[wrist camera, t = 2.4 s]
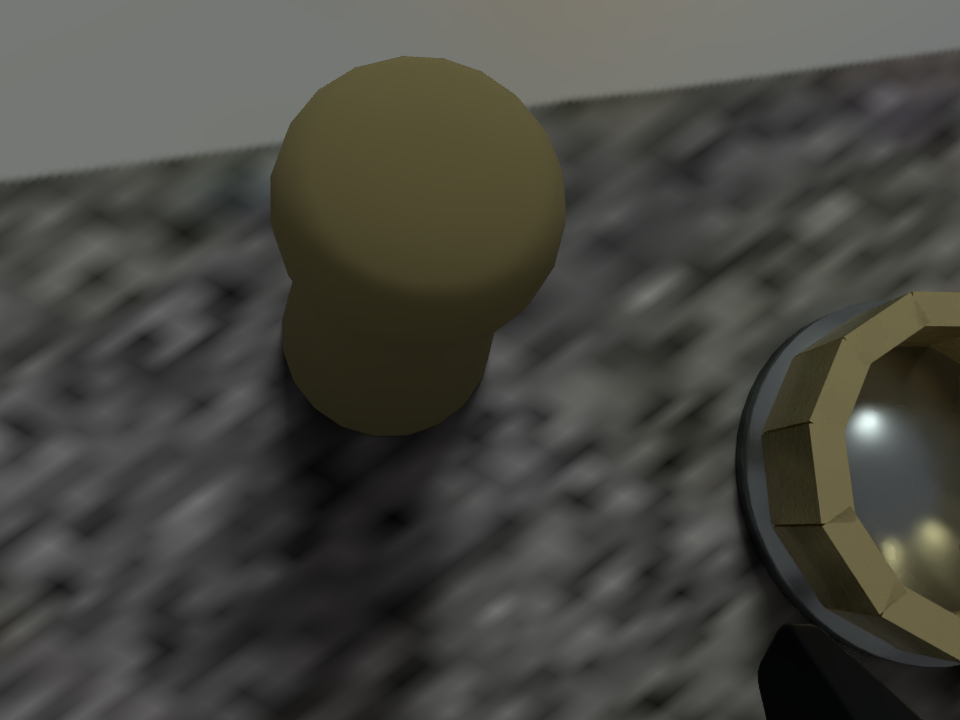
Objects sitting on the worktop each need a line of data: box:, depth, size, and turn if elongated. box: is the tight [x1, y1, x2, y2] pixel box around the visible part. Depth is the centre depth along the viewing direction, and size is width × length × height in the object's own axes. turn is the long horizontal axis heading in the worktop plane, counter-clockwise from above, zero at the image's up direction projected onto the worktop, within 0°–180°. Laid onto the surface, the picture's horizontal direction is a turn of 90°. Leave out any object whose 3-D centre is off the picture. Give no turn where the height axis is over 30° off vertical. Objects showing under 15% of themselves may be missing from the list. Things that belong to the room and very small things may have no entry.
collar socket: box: [736, 292, 960, 667], centre depth 23 cm, size 11×11×3 cm
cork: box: [271, 56, 566, 436], centre depth 18 cm, size 6×6×11 cm
